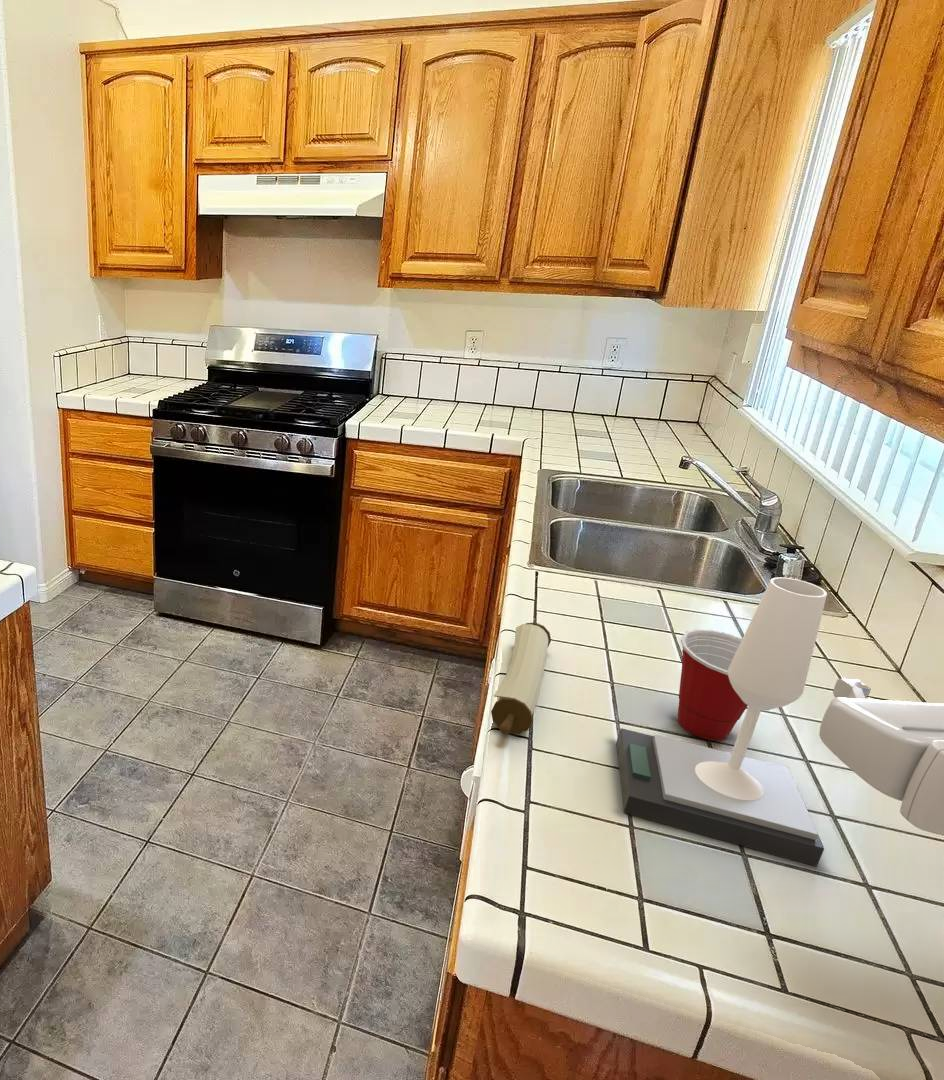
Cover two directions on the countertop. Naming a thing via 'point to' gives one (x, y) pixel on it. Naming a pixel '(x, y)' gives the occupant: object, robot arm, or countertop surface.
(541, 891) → the countertop surface
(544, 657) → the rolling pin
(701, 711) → the plastic cup
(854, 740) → the robot arm
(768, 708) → the champagne flute
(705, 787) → the kitchen scale
